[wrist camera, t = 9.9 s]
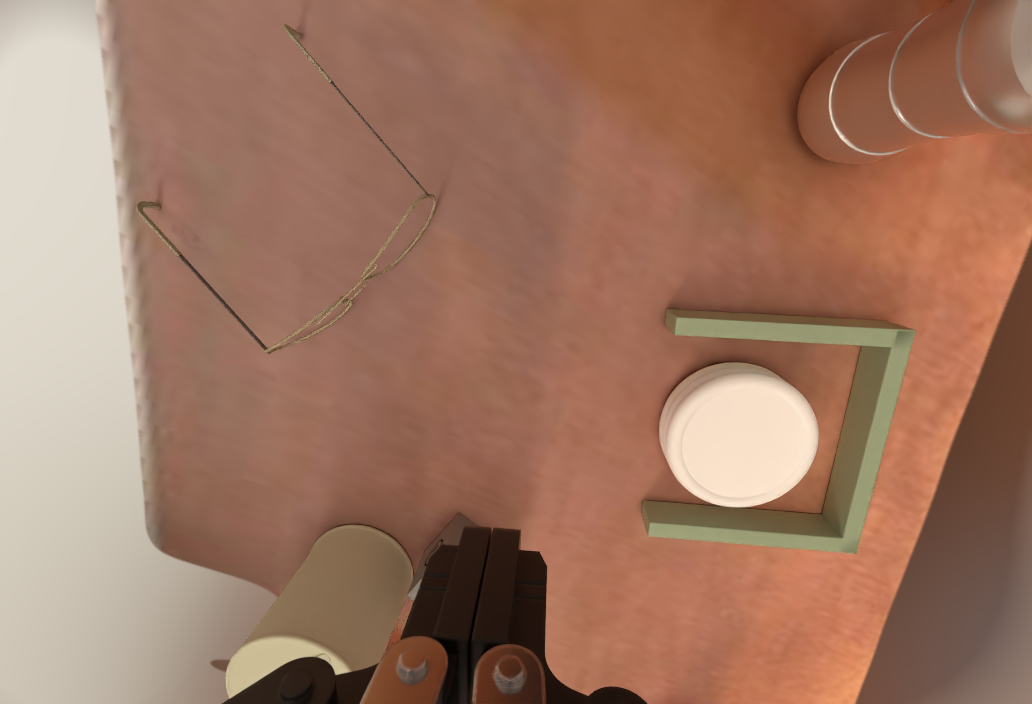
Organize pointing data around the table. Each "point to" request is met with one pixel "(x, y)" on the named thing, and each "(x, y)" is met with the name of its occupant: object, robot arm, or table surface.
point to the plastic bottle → (923, 83)
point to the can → (331, 607)
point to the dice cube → (446, 537)
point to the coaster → (738, 434)
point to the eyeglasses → (268, 350)
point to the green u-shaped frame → (855, 450)
